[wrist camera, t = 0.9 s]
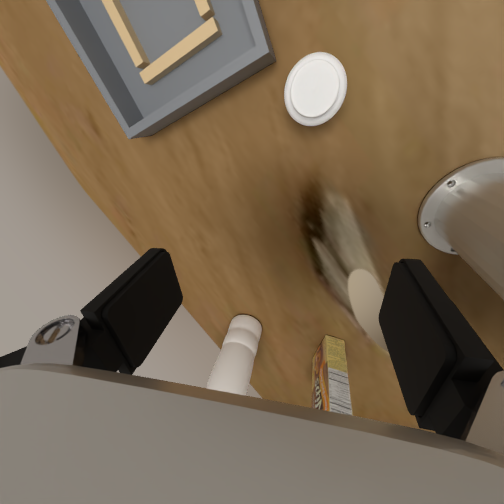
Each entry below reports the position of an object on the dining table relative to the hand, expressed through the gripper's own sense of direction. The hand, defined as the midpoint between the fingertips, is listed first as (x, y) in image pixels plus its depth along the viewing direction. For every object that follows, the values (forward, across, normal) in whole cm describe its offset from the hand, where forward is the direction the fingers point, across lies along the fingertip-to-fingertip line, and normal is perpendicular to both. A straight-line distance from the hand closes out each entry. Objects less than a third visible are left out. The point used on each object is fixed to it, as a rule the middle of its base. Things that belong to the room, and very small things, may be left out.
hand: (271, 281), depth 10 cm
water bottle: (+26, +10, +34) cm, 44 cm away
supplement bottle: (+26, -2, -8) cm, 27 cm away
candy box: (+26, -7, +38) cm, 47 cm away
